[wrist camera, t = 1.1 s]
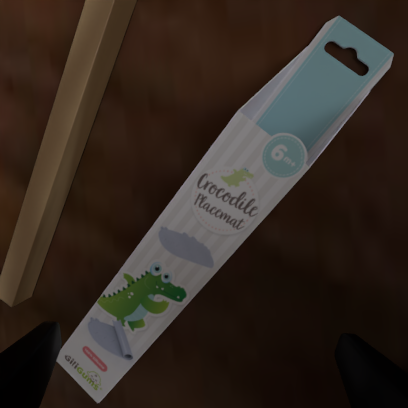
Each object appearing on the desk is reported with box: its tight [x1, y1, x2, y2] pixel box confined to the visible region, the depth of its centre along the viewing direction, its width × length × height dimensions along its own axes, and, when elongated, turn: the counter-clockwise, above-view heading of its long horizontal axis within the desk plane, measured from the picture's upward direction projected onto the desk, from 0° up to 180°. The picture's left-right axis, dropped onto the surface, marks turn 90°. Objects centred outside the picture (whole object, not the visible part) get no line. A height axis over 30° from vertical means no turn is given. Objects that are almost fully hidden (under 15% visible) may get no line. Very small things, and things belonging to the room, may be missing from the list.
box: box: [56, 16, 394, 403], centre depth 17 cm, size 4×4×28 cm
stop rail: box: [0, 0, 137, 307], centre depth 21 cm, size 2×30×2 cm, turn 153°
